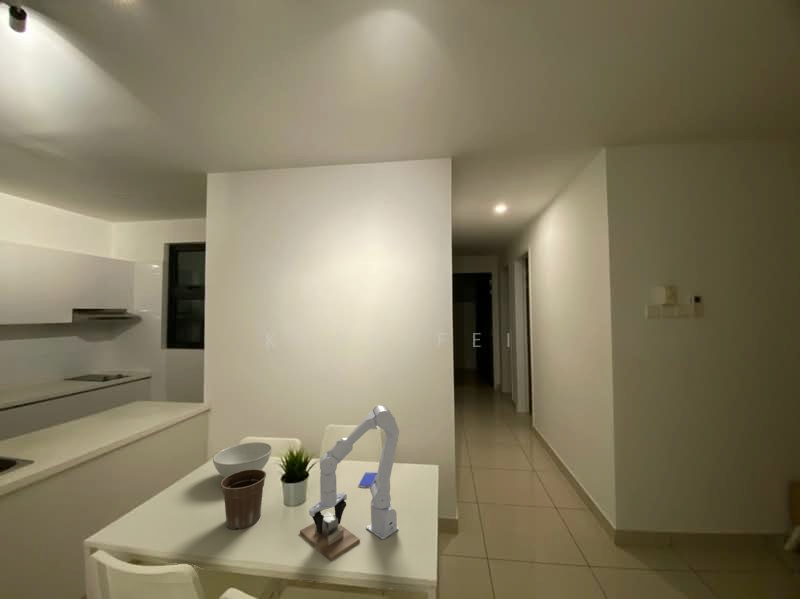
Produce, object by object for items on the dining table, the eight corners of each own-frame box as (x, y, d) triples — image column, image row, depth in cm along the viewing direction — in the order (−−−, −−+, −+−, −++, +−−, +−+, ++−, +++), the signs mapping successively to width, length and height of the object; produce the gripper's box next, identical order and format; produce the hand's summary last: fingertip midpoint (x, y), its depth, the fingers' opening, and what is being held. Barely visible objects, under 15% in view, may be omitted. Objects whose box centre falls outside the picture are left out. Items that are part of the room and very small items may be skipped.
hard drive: (365, 472, 164) (358, 484, 151) (381, 472, 162) (375, 485, 150) (365, 475, 164) (358, 488, 151) (381, 476, 162) (375, 489, 150)
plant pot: (248, 504, 140) (248, 465, 141) (275, 513, 132) (274, 473, 133) (211, 525, 126) (211, 482, 126) (238, 538, 118) (238, 492, 119)
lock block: (338, 535, 117) (337, 518, 117) (328, 541, 114) (328, 523, 114) (328, 527, 121) (328, 511, 121) (318, 533, 118) (318, 515, 119)
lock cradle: (359, 541, 114) (359, 531, 115) (330, 560, 106) (330, 549, 106) (328, 518, 128) (327, 509, 129) (300, 533, 120) (299, 523, 120)
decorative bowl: (199, 485, 157) (200, 459, 158) (245, 461, 182) (245, 439, 182) (240, 495, 147) (240, 468, 147) (283, 469, 171) (283, 445, 172)
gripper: (338, 477, 126) (339, 514, 125) (304, 492, 116) (305, 532, 115) (349, 484, 121) (350, 521, 120) (315, 500, 111) (315, 541, 110)
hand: (329, 527), depth 117 cm, fingers open, 7 cm apart
